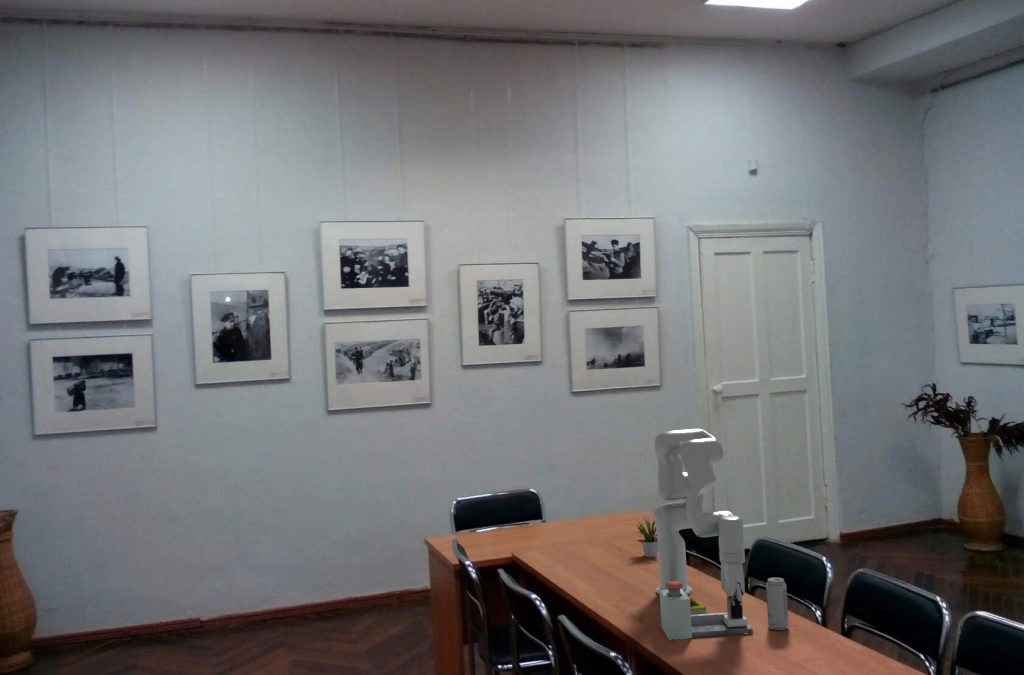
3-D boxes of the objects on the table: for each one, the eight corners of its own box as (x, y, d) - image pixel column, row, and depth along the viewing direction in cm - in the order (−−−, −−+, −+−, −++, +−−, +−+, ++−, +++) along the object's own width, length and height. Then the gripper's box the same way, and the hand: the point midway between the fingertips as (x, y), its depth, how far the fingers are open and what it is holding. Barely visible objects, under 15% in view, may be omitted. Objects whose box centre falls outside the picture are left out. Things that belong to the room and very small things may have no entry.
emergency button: (681, 607, 281) (666, 594, 296) (682, 621, 281) (666, 607, 296) (709, 604, 282) (692, 591, 297) (709, 618, 282) (692, 604, 297)
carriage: (723, 621, 271) (722, 597, 271) (742, 620, 272) (741, 596, 272) (728, 627, 266) (727, 602, 266) (747, 625, 267) (746, 601, 267)
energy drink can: (769, 624, 272) (766, 576, 272) (789, 625, 270) (786, 577, 270) (767, 630, 267) (764, 581, 267) (787, 632, 265) (785, 582, 265)
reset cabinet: (661, 628, 274) (659, 590, 274) (683, 626, 274) (681, 588, 274) (669, 640, 263) (666, 600, 263) (691, 638, 263) (689, 599, 263)
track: (684, 627, 273) (683, 615, 273) (744, 623, 274) (743, 611, 274) (691, 637, 264) (690, 624, 264) (753, 633, 265) (752, 620, 265)
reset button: (664, 600, 271) (663, 581, 271) (681, 599, 271) (680, 580, 271) (668, 605, 266) (667, 586, 266) (685, 604, 266) (684, 585, 266)
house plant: (669, 550, 369) (667, 512, 369) (672, 559, 355) (670, 519, 355) (635, 551, 370) (633, 513, 370) (637, 559, 357) (635, 520, 357)
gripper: (713, 550, 277) (716, 608, 277) (727, 564, 261) (730, 625, 261) (736, 549, 277) (739, 606, 277) (752, 562, 261) (755, 623, 261)
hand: (735, 615), depth 269 cm, fingers closed on carriage, 3 cm apart
